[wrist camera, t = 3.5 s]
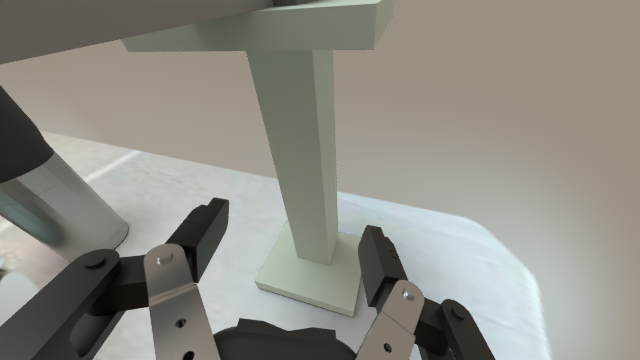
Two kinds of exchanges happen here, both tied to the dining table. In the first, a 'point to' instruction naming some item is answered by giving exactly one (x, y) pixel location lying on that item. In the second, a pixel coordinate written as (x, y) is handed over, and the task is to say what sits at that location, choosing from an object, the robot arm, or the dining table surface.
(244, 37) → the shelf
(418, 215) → the dining table surface
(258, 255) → the dining table surface
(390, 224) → the dining table surface
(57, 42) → the grey block with bar
